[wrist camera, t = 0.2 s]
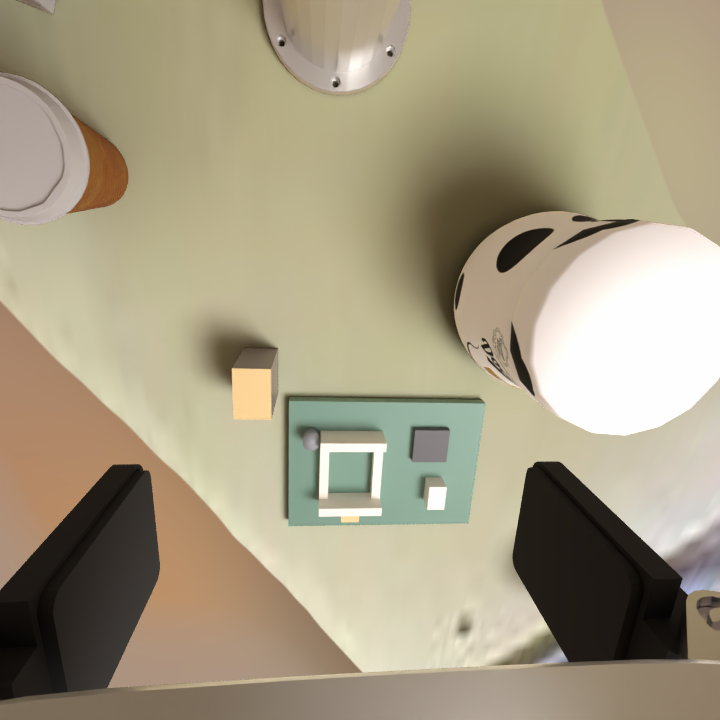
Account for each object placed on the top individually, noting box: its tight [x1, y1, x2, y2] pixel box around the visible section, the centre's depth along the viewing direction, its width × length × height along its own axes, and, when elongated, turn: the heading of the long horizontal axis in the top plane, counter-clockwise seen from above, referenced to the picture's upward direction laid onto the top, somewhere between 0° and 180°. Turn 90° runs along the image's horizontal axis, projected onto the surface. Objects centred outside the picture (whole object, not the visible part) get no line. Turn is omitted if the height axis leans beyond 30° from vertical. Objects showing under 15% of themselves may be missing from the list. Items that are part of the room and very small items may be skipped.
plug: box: [232, 348, 278, 419], centre depth 43 cm, size 6×4×7 cm, turn 177°
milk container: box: [454, 211, 720, 435], centre depth 38 cm, size 17×17×18 cm
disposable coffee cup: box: [0, 72, 128, 225], centre depth 34 cm, size 10×10×12 cm
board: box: [289, 397, 485, 526], centre depth 49 cm, size 16×22×4 cm
